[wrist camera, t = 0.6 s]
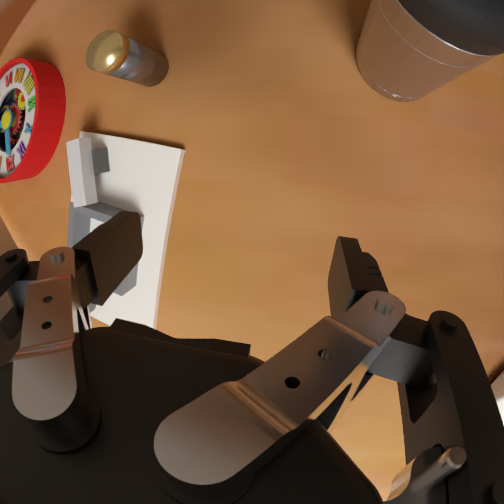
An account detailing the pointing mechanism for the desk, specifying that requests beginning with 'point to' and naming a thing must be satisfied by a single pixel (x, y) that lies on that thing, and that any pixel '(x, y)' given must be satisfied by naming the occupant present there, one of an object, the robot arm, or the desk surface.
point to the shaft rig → (125, 199)
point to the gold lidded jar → (126, 59)
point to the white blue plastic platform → (499, 393)
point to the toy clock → (29, 117)
